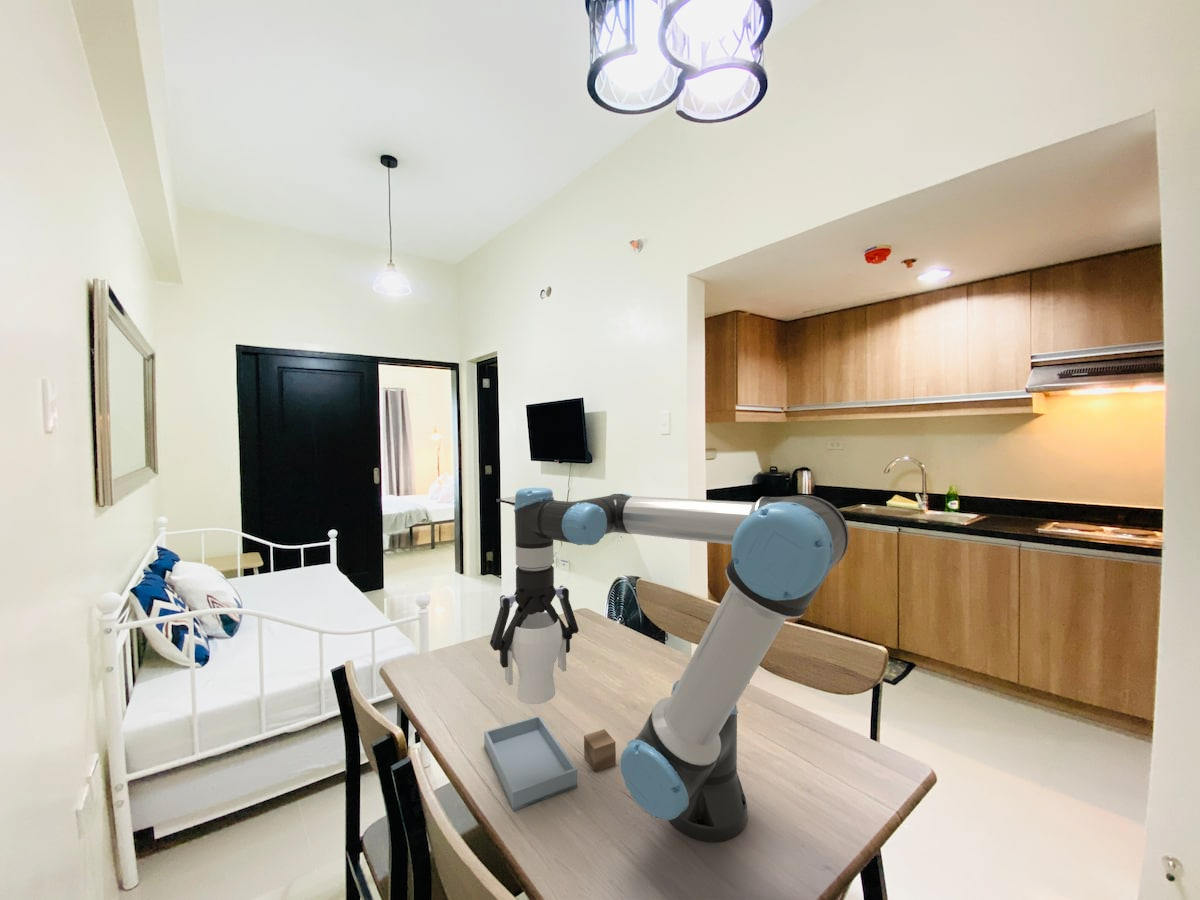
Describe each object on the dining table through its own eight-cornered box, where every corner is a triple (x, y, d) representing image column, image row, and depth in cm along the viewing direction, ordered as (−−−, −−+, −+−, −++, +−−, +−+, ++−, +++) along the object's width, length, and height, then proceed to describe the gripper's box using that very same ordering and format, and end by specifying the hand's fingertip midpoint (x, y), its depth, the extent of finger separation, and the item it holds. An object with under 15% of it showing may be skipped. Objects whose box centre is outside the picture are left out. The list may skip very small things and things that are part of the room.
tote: (577, 786, 95) (577, 769, 95) (513, 811, 89) (512, 792, 89) (539, 729, 114) (539, 715, 114) (484, 746, 108) (484, 731, 108)
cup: (553, 711, 90) (552, 632, 90) (500, 705, 92) (499, 628, 92) (568, 683, 100) (568, 612, 100) (520, 678, 103) (520, 609, 102)
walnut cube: (615, 764, 102) (615, 741, 101) (594, 772, 99) (594, 748, 99) (604, 751, 106) (604, 729, 106) (584, 758, 104) (583, 735, 104)
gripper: (579, 554, 104) (580, 655, 105) (472, 569, 94) (474, 680, 94) (594, 562, 98) (595, 669, 98) (481, 578, 87) (483, 698, 88)
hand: (536, 675), depth 96 cm, fingers closed on cup, 10 cm apart
